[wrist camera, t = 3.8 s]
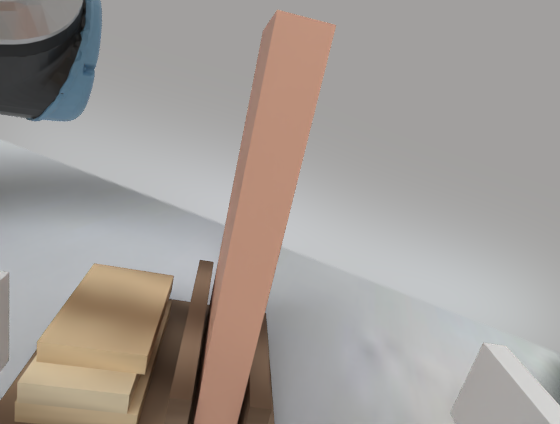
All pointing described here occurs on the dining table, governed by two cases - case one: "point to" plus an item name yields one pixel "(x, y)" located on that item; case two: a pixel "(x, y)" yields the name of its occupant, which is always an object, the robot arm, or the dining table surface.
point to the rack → (186, 367)
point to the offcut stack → (98, 351)
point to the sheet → (260, 206)
